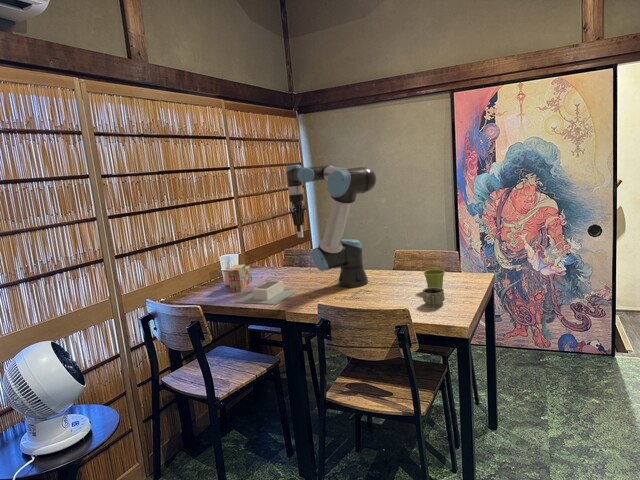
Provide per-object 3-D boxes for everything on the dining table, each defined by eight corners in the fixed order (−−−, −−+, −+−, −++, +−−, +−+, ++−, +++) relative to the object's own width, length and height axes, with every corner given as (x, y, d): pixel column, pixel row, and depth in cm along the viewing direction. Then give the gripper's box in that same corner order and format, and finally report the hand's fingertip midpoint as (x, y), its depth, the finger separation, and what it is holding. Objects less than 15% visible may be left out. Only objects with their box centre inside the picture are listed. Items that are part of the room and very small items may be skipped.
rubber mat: (296, 292, 217) (296, 291, 217) (276, 304, 199) (276, 303, 199) (256, 290, 227) (256, 289, 227) (234, 302, 209) (234, 301, 209)
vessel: (423, 300, 184) (422, 286, 184) (445, 300, 182) (444, 285, 181) (422, 309, 173) (421, 294, 172) (445, 309, 171) (444, 294, 170)
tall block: (282, 280, 220) (266, 289, 206) (284, 290, 221) (267, 299, 207) (269, 280, 224) (252, 288, 210) (270, 289, 225) (253, 299, 210)
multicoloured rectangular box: (242, 281, 250) (239, 261, 248) (252, 281, 250) (249, 260, 248) (230, 292, 229) (227, 270, 228) (241, 291, 229) (238, 269, 227)
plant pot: (434, 294, 190) (433, 275, 189) (420, 290, 199) (419, 272, 197) (450, 290, 195) (449, 271, 193) (435, 286, 203) (434, 268, 201)
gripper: (295, 193, 238) (300, 235, 242) (283, 195, 227) (288, 239, 231) (307, 192, 235) (311, 234, 239) (296, 194, 224) (301, 239, 227)
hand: (300, 237), depth 235 cm, fingers closed
